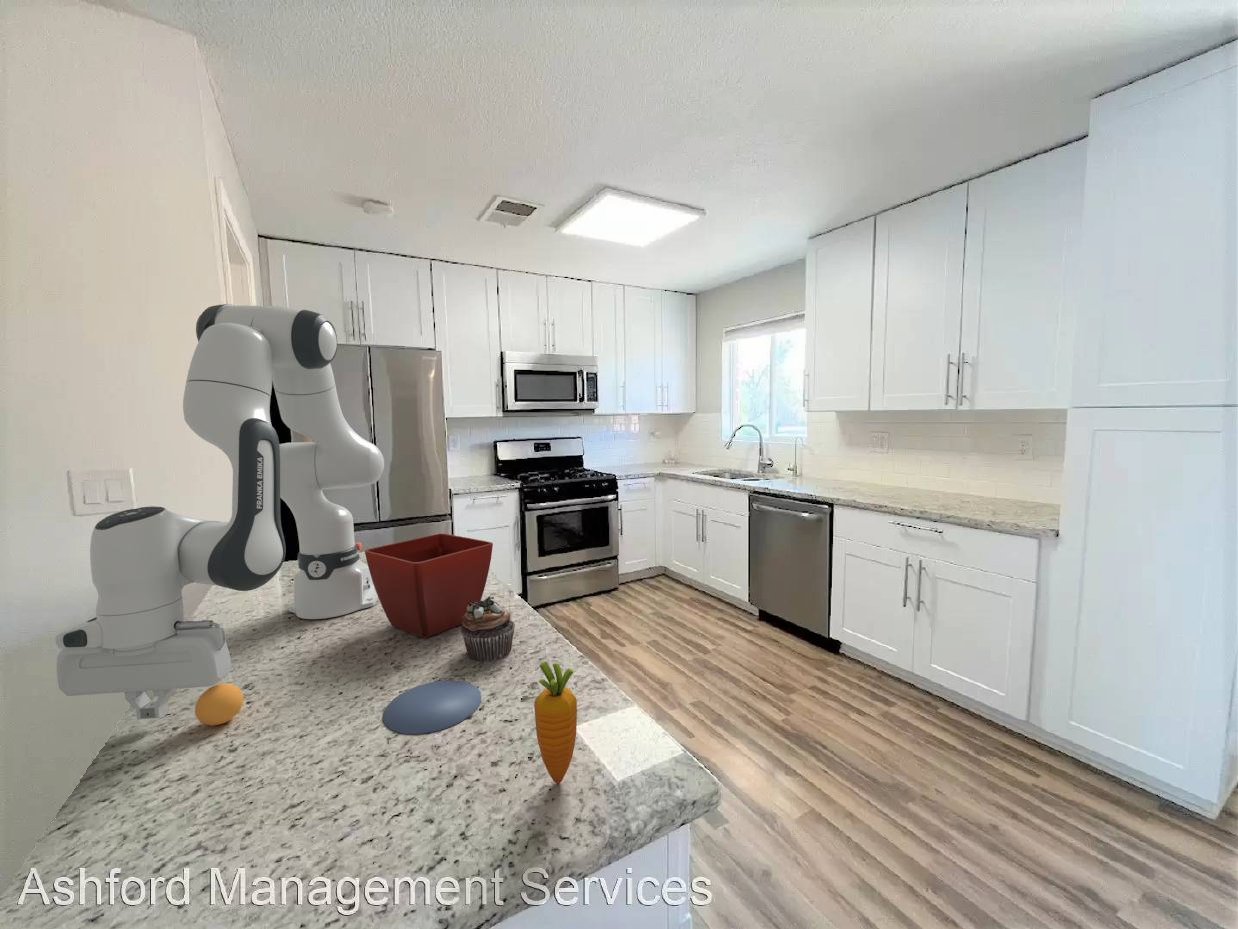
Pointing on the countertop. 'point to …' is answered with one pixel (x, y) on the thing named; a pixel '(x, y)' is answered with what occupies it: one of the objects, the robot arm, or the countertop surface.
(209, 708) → the ball
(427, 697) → the disc
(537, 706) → the carrot
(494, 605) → the cupcake
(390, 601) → the plant pot
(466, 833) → the countertop surface
